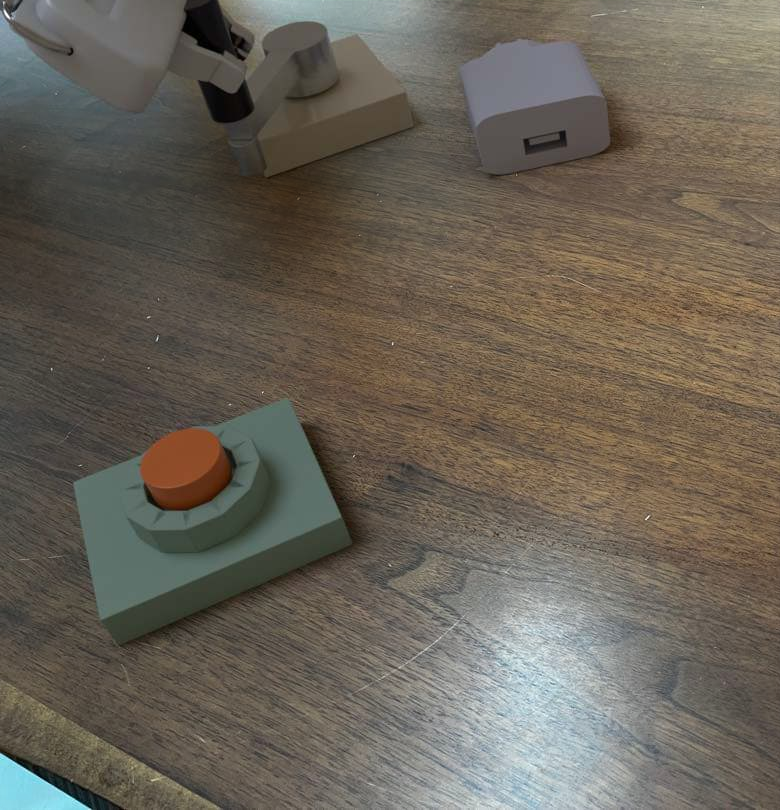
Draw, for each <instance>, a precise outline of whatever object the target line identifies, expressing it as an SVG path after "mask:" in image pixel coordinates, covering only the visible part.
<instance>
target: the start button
mask: <svg viewBox="0 0 780 810" xmlns="http://www.w3.org/2000/svg"><path fill="white" fill-rule="evenodd" d="M191 428H192V427H191ZM149 448H150V449H149ZM149 448H148V449H149V450H148V449H147V450H148V451H147V450H146V451H147V452H146V451H145V452H146V454H145V455H144V457H143V459H142V462H141V466H140V472H141V476H142V478H143V480H144V482H145V484H146V485H147V487H148V489H149V491H150V492H151V494H152V496H153V498H154V499H155V501H156V502H157V503H158V504H159V505H160V506H162V507H163V508H165V509H168V510H172V511H187V510H190V509H193V508H195V507H198V506H200V505H203V504H205V503H207V502H210V501H212V500H213V499H214V498H215V497H216V496H217V495H218V494H219V493H220V492H221V491H222V490H224V489H225V488H226V486H227V485H228V483H229V481H230V478H231V474H232V467H231V464H230V461H229V459H228V457H227V455H226V453H225V451H224V449H223V447H222V445H221V443H220V441H219V439H218V438H217V436H216V435H214V434H213V433H211V432H210V431H207V430H204V429H198V428H192V429H189V428H183V429H179V430H177V431H174V432H171V433H169V434H167V435H165V436H163V437H161V438H160V439H158V440H157V441H156V442H155V443H153V445H151V446H150V447H149Z"/></svg>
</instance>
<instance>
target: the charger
mask: <svg viewBox="0 0 780 810" xmlns="http://www.w3.org/2000/svg"><path fill="white" fill-rule="evenodd" d="M458 73H459V78H460V84H461V88H462V94H463V100H464V105H465V110H466V114H467V116H468V120H469V125H470V127H471V130H472V134H473V137H474V142H475V144H476V148H477V151H478V155H479V158H480V161H481V165H482V169H483V170H484V172H486V173H487V174H491V175H499V176H501V175H509V174H513V173H517V172H518V173H519V172H523V171H527V170H531V169H537V168H541V167H546V166H550V165H555V164H559V163H564V162H569V161H574V160H579V159H584V158H589V157H592V156H596V155H597V154H599V153H601V152H603V151H605V150H606V149H607V148H608V147H609V146H610V144H611V133H610V123H609V122H610V121H609V112H608V103H607V100H606V98H605V96H604V94H603V92H602V90H601V88H600V86H599V84H598V81H597V79H596V77H595V75H594V73H593V71H592V69H591V67H590V66H589V62H588V61H587V59H586V57H585V54H584V53H583V51H582V49H581V47H580V45H579V44H578V43H576V42H574V41H570V40H561V41H560V40H559V41H553V42H548V43H543V42H539V41H536V40H531V39H527V38H525V39H523V38H521V37H520V38H517V39H516V40H515V41H511V42H505V43H501V42H497V43H495V45H494V46H493V47H492V48H491V49H490V50H488V51H487V52H485V53H484V54H483V55H481V56H480V57H478V58H474V59H470V61H467V62H465V64H463V65H462V66H461V67H460V69H459V72H458Z"/></svg>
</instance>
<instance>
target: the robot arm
mask: <svg viewBox="0 0 780 810" xmlns="http://www.w3.org/2000/svg"><path fill="white" fill-rule="evenodd" d="M186 1H187V0H0V12H1V14H2V16H3V17H4V19H5V21H6V22H7V23H8V27H9V29H10V30H11V31H12V32H13V33H15V34H16V35H18V36H20V37H21V38H22V39H24V43H25V44H26V46H27V47H28V48H29V49H30V51H31V52H32V53H33V54H34V55H35V56H37V57H38V58H39V59H40V60H41V61H42V62H44V63H45V64H47V65H48V66H49V67H51V68H52V69H54V70H55V71H57V72H58V73H60V74H61V75H62V76H64V77H65V78H67V79H68V80H70V81H71V82H72V83H74V84H76V85H77V86H79V87H81V88H82V89H83V90H85V91H86V92H88V93H90V94H91V95H93V96H94V97H96V98H98V99H99V100H101V101H103V102H104V103H106V104H108V105H109V106H110V107H113V108H115V109H116V110H119V111H122V112H128V113H134V114H140V113H143V112H144V111H145V110H146V108H147V106H148V105H149V104H150V102H151V100H152V99H153V97H154V95H155V93H156V92H157V90H158V88H159V87H160V85H161V83H162V80H164V77H165V75H166V73H167V70H168V71H169V72H170V73H171V72H172V73H173V74H174V75H176V76H178V77H182V78H185V79H191V80H195V81H197V80H200V81H205V82H208V81H209V82H211V83H212V84H214V85H216V86H217V87H219V88H221V89H223V90H224V91H226V92H228V93H232V94H233V93H235V92H237V90H238V89H239V87H240V86H241V84H242V83H243V81H244V79H245V74H246V70H247V69H248V66H247V64H246V63H245V61H246V59H247V58H248V56H249V55H250V53H251V51H252V50H253V47H254V43H255V41H256V37H255V35H256V34H254V33H253V31H251V30H250V29H248V28H246V27H245V26H243V25H242V24H240V23H238V22H237V21H235V20H234V18H233V17H232V16H231V15H230V14H229V12H228V11H227V10H226V9H225V8H224V7H223V6H222V5H221V4H220V7H221V10H222V13H223V16H224V19H225V21H226V24H227V27H228V30H229V33H230V36H231V39H232V42H233V45H234V48H235V51H236V54H237V56H238V59H237V58H236V57H235V56H234V55H232V54H230V53H229V52H227V51H225V50H224V52H223V54H222V55H221V54H218V53H215V52H213V51H210V50H207V49H205V48H202V47H199V46H197V45H196V44H197V40H196V39H194V38H192V37H191V36H189V35H187V34H186V33H184V32H183V31H181V30H182V28H183V25H184V22H185V20H186V13H185V11H184V10H183V9H184V6H185V4H186Z"/></svg>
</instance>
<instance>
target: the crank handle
mask: <svg viewBox="0 0 780 810" xmlns="http://www.w3.org/2000/svg"><path fill="white" fill-rule="evenodd" d="M220 5H221V4H220V1H219V0H187V1H186V4H185V6H184V9H183V10H184V11H185V13H186V20H185V22H184V25H183V28H182V30H181V31H183V32H184V33H186V34H187V35H189V36H191V37H192V38H194V39H196V40H197V44H196V45H197V46H199V47H202V48H205V49H207V50H210V51H213V52H215V53H218V54H221V55H222V54H223V52H224V50H225V51H227V52H229V53H230V54H232V55H234V56H235V57H236V58H237V59H238V56H237V54H236V51H235V48H234V45H233V42H232V39H231V36H230V33H229V30H228V27H227V24H226V21H225V19H224V16H223V13H222V10H221V7H220ZM261 48H262V51H263V53H264V58H263V60H262V61H261V62H260V63H259V65H257V66H258V67H257V66H256V67H257V68H256V70H255V71H254V72H253V73H252V75H251V76H250V77H249V78H248V79H247V81H246V80H245V79H244V81H243V83H242V84H241V86H240V87H239V89H238V90H237V92H235V93H233V94H232V93H228V92H226V91H224V90H223V89H221V88H219V87H217V86H216V85H214V84H212V83H211V82H209V81H208V82H205V81H200V80H196V81H197V84H198V86H199V89H200V92H201V94H202V97H203V99H204V102H205V105H206V107H207V110H208V113H209V115H210V118H211V120H212V121H213V122H215V123H217V124H221V125H222V127H223V129H224V132H225V134H226V137H227V140H228V145H229V148H230V150H231V153H232V156H233V158H234V162H235V163H236V167H237V170H238V172H239V174H240V175H241V176H243V177H254V176H255V177H256V176H258V175H261V174H263V171H264V170H265V169H266V168H267V163H266V160H265V157H264V154H263V152H262V149H261V146H260V143H259V140H258V137H257V135H258V133H259V132H260V131H261V129H262V128H263V127H264V125H265V124H266V123H267V121H268V120H269V119H270V118H271V116H272V115H273V114H274V112H275V111H276V110H277V108H278V107H279V106H280V104H281V103H282V102H283V100H284V99H285V98H286V96H287V97H306V96H311V95H314V94H317V93H320V92H322V91H325V90H326V89H328V88H330V87H331V86H333V85H334V84H335V83H336V81H337V80H338V78H339V72H338V68H337V64H336V61H335V57H334V53H333V50H332V46H331V40H330V36H329V33H328V29H327V27H326V26H325V25H324V24H322V23H320V22H317V21H309V20H304V21H303V20H302V21H296V22H291V23H287V24H284V25H281V26H279V27H276V28H274V29H272V30H271V31H269V32H268V33H267V34H265V35H264V37H263V38H262V40H261Z"/></svg>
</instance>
